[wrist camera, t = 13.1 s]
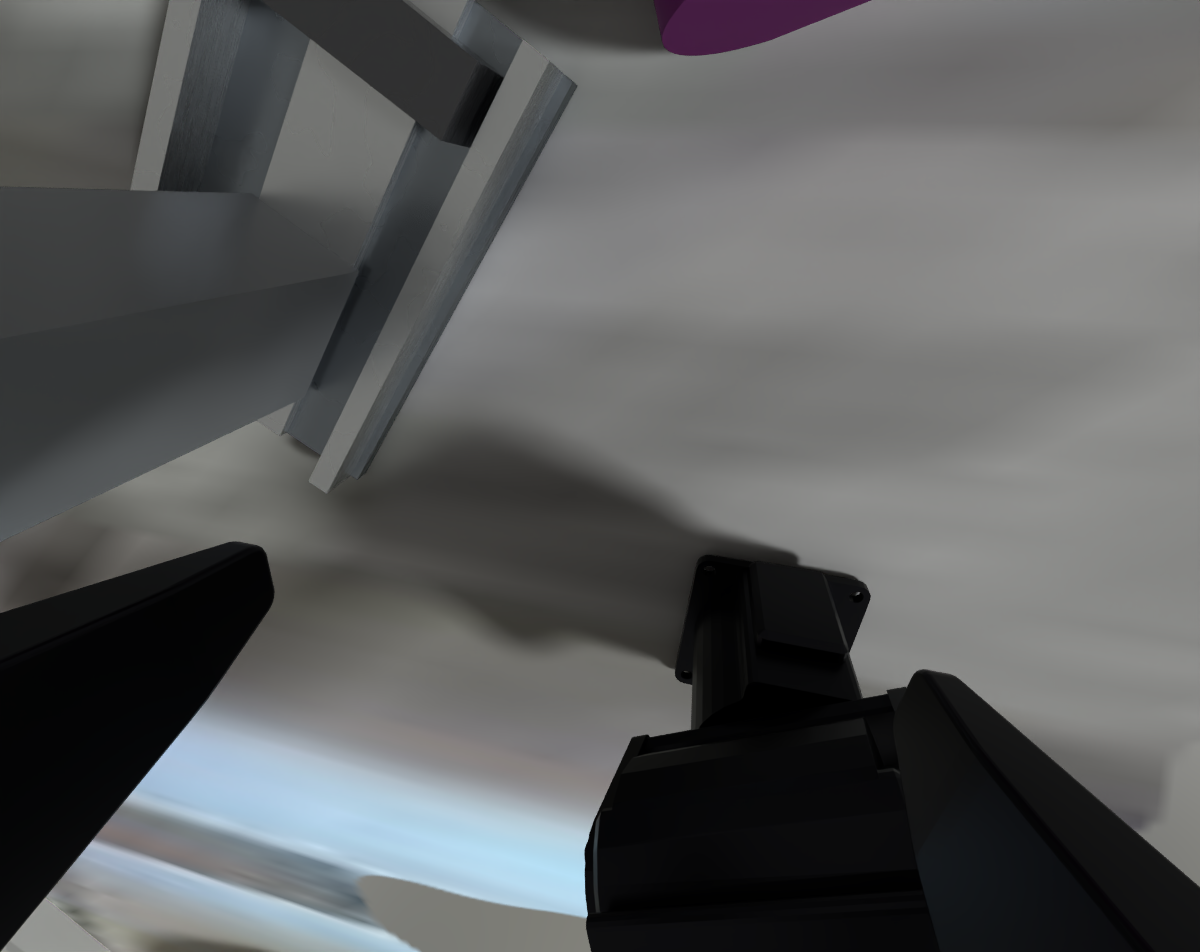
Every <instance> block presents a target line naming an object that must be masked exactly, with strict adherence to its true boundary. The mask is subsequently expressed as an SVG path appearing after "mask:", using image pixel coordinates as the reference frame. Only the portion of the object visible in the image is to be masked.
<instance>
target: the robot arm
mask: <svg viewBox="0 0 1200 952" xmlns="http://www.w3.org/2000/svg"><path fill="white" fill-rule="evenodd" d="M706 566H712V567H714V568H715V569H714V570H712V571H707V570H705V569H704V568H705V567H706ZM853 592H860V594H859V595H857V596H850V594H851V593H853ZM870 597H871V595H870V593H869V590H868V588H867V586H866V584H864V583H863V582H861V581H858V580H853V579H847V578H842V577H836V576H830V575H824V574H822V573H821V572H818V571H812V570H806V569H800V568H795V567H789V566H783V565H777V564H771V563H766V562H760V561H756V562H749V561H743V560H737V559H731V558H726V557H720V556H714V555H705V556H702V557H701V558H700V559H698V561H697V564H696V569H695V573H694V578H693V583H692V588H691V593H690V598H689V603H688V607H687V612H686V617H685V622H684V627H683V632H682V637H681V642H680V646H679V651H678V656H677V661H676V666H675V676H676V678H677V679H678V680H679V681H680V682H683V683H686V684H691V685H692V711H691V730H687V731H682V732H676V733H671V734H665V735H660V736H654V737H649V735H642V736H636V737H632V739H631V741H630V743H629V745H628V747H627V750H626V752H625V754H624V756H623V758H622V760H621V763H620V765H619V767H618V769H617V771H616V774H615V776H614V778H613V780H612V782H611V784H610V787H609V789H608V791H607V793H606V795H605V798H604V800H603V802H602V804H601V806H600V808H599V811H598V813H597V815H596V817H595V819H594V822H593V825H592V828H591V831H590V834H589V839H588V842H587V844H586V847H585V895H586V903H587V911H588V916H587V921H586V930H587V935H588V939H589V944H590V948H591V952H1200V887H1199V886H1198V885H1197V884H1196V883H1194V882H1193V881H1192V880H1191V879H1190V878H1189V877H1188V876H1186V875H1185V874H1184V873H1183V872H1182V871H1181V870H1179V869H1178V868H1177V867H1176V866H1175V865H1174V864H1172V863H1171V862H1170V861H1169V860H1168V859H1167V858H1166V857H1164V856H1163V855H1162V854H1161V853H1160V852H1159V851H1158V850H1156V849H1155V848H1154V847H1153V846H1152V845H1151V844H1149V843H1148V842H1147V841H1146V840H1145V839H1143V837H1141V836H1140V835H1139V834H1138V833H1137V832H1136V831H1134V830H1133V829H1132V828H1131V827H1130V826H1129V825H1127V824H1126V823H1125V822H1124V821H1123V820H1122V819H1121V818H1119V817H1118V816H1117V815H1116V814H1115V813H1114V812H1112V811H1111V810H1110V809H1109V808H1108V807H1107V806H1106V805H1104V804H1103V803H1102V802H1101V801H1100V800H1099V799H1097V798H1096V797H1095V796H1094V795H1093V794H1092V793H1091V792H1089V791H1088V790H1087V789H1086V788H1085V787H1084V786H1082V785H1081V784H1080V783H1079V782H1078V781H1077V780H1076V779H1074V778H1073V777H1072V776H1071V775H1070V774H1069V773H1067V772H1066V771H1065V770H1064V769H1063V768H1062V767H1060V766H1059V765H1058V764H1057V763H1056V762H1055V761H1054V760H1052V759H1051V758H1050V757H1049V756H1048V755H1047V754H1045V753H1044V752H1043V751H1042V750H1041V749H1040V748H1039V747H1037V746H1036V745H1035V744H1034V743H1033V742H1032V741H1030V740H1029V739H1028V738H1027V737H1026V736H1025V735H1024V734H1022V733H1021V732H1020V731H1019V730H1018V729H1017V728H1015V727H1014V726H1013V725H1012V724H1011V723H1010V722H1008V721H1007V720H1006V719H1005V718H1004V717H1003V716H1002V715H1000V714H999V713H998V712H997V711H996V710H995V709H993V708H992V707H991V706H990V705H989V704H988V703H987V702H985V701H984V700H983V699H982V698H981V697H980V696H978V695H977V694H976V693H975V692H974V691H973V690H972V689H970V688H969V687H968V686H967V685H966V684H965V683H963V682H962V681H961V680H960V679H959V678H957V677H956V676H954V675H951V674H947V673H942V672H936V671H931V670H925V669H922V670H918V671H917V672H916V673H914V675H913V676H912V678H911V680H910V682H909V684H908V687H907V688H906V687H901V688H896V689H891V690H887V693H888V694H884V695H879V696H873V697H868V698H863V697H862V693H861V690H860V687H859V684H858V681H857V677H856V674H855V671H854V668H853V665H852V662H851V658H850V655H849V652H850V650H851V647H852V645H853V642H854V640H855V637H856V635H857V632H858V629H859V627H860V624H861V622H862V619H863V617H864V614H865V612H866V609H867V606H868V604H869V601H870ZM273 599H274V586H273V581H272V577H271V572H270V568H269V563H268V559H267V555H266V552H265V551H264V550H263V548H262V547H260V546H258V545H253V544H248V543H242V542H228V543H225V544H221V545H218V546H215V547H212V548H209V549H205V550H202V551H199V552H196V553H192V554H189V555H186V556H183V557H180V558H176V559H173V560H170V561H167V562H163V563H160V564H157V565H154V566H151V567H147V568H144V569H141V570H138V571H135V572H131V573H128V574H125V575H122V576H118V577H115V578H112V579H109V580H106V581H102V582H99V583H96V584H93V585H89V586H86V587H83V588H80V589H77V590H73V591H70V592H67V593H64V594H61V595H57V596H54V597H51V598H48V599H44V600H41V601H38V602H35V603H32V604H28V605H25V606H22V607H19V608H15V609H12V610H9V611H6V612H3V613H0V952H1V951H2V950H3V948H4V947H5V946H6V945H7V943H8V942H9V941H10V940H11V939H12V937H13V936H14V935H15V934H16V933H17V931H18V930H19V929H20V928H21V926H22V925H23V924H24V923H25V922H26V920H27V919H28V918H29V917H30V915H31V914H32V913H33V912H34V911H35V909H36V908H37V907H38V906H39V905H40V903H41V902H42V901H43V900H44V898H45V897H46V896H47V895H48V894H49V892H50V891H51V890H52V889H53V887H54V886H55V885H56V884H57V883H58V881H59V880H60V879H61V878H62V877H63V875H64V874H65V873H66V872H67V870H68V869H69V868H70V867H71V866H72V864H73V863H74V862H75V861H76V860H77V858H78V857H79V856H80V855H81V853H82V852H83V851H84V850H85V849H86V847H87V846H88V845H89V844H90V842H91V841H92V840H93V839H94V838H95V836H96V835H97V834H98V833H99V832H100V830H101V829H102V828H103V827H104V825H105V824H106V823H107V822H108V821H109V819H110V818H111V817H112V816H113V814H114V813H115V812H116V811H117V810H118V808H119V807H120V806H121V805H122V804H123V802H124V801H125V800H126V799H127V797H128V796H129V795H130V794H131V793H132V791H133V790H134V789H135V788H136V787H137V785H138V784H139V783H140V782H141V780H142V779H143V778H144V777H145V776H146V774H147V773H148V772H149V771H150V769H151V768H152V767H153V766H154V765H155V763H156V762H157V761H158V760H159V759H160V757H161V756H162V755H163V754H164V752H165V751H166V750H167V749H168V748H169V746H170V745H171V744H172V743H173V742H174V740H175V739H176V738H177V737H178V735H179V734H180V733H181V732H182V731H183V729H184V728H185V727H186V726H187V724H188V723H189V722H190V721H191V720H192V718H193V717H194V716H195V715H196V713H197V712H198V711H199V710H200V708H201V707H202V706H203V704H204V703H205V702H206V701H207V699H208V698H209V696H210V695H211V694H212V692H213V691H214V689H215V688H216V687H217V685H218V684H219V682H220V681H221V680H222V678H223V677H224V675H225V674H226V672H227V671H228V669H229V668H230V666H231V665H232V663H233V662H234V660H235V659H236V658H237V656H238V655H239V653H240V652H241V650H242V649H243V647H244V646H245V644H246V643H247V641H248V640H249V638H250V637H251V636H252V634H253V633H254V631H255V630H256V628H257V627H258V625H259V624H260V622H261V621H262V619H263V618H264V617H265V615H266V614H267V612H268V611H269V609H270V607H271V605H272V603H273ZM684 671H690V672H684Z"/></svg>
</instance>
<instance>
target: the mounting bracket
mask: <svg viewBox="0 0 1200 952" xmlns="http://www.w3.org/2000/svg"><path fill="white" fill-rule="evenodd" d="M868 1H871V0H654V5H655V9H656V14H657V19H658V24H659V29H660V33H661V38H662V43H663V45H664V47H665V48H666V49H667V50H668V51H670V52H672V53H674V54H679V55H687V56H697V55H709V54H716V53H722V52H727V51H731V50H736V49H740V48H744V47H748V46H752V45H755V44H759V43H762V42H766V41H769V40H772V39H775V38H777V37H780V36H782V35H785V34H787V33H790V32H792V31H795V30H797V29H800V28H802V27H805V26H807V25H810V24H812V23H815V22H818V21H820V20H823V19H825V18H828V17H830V16H833V15H835V14H838V13H840V12H843V11H845V10H848V9H850V8H853V7H855V6H858V5H861V4H863V3H866V2H868Z"/></svg>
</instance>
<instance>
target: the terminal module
mask: <svg viewBox="0 0 1200 952" xmlns="http://www.w3.org/2000/svg"><path fill="white" fill-rule="evenodd" d="M358 273H359V271H358V270H357V269H355V268H354V267H353V266H351V265H350V264H348V263H347V262H346V261H344V260H343V259H341V258H340V257H339V256H337V255H336V254H335V253H333V252H332V251H330V250H329V249H328V248H326V247H325V246H324V245H322V244H321V243H319V242H318V241H317V240H315V239H314V238H313V237H311V236H310V235H308V234H307V233H306V232H304V231H303V230H302V229H300V228H299V227H297V226H296V225H295V224H293V223H292V222H290V221H289V220H288V219H286V218H285V217H284V216H282V215H281V214H279V213H278V212H277V211H275V210H274V209H273V208H271V207H270V206H268V205H267V204H266V203H264V202H263V201H262V200H260V199H259V198H257V197H256V196H255V195H253V194H252V193H217V192H180V191H144V190H107V189H70V188H34V187H0V542H1V541H3V540H5V539H7V538H9V537H12V536H14V535H16V534H18V533H20V532H22V531H24V530H26V529H28V528H31V527H33V526H35V525H37V524H39V523H41V522H43V521H45V520H47V519H50V518H52V517H54V516H56V515H58V514H60V513H62V512H64V511H66V510H68V509H71V508H73V507H75V506H77V505H79V504H81V503H83V502H85V501H87V500H90V499H92V498H94V497H96V496H98V495H100V494H102V493H104V492H106V491H108V490H111V489H113V488H115V487H117V486H119V485H121V484H123V483H125V482H127V481H130V480H132V479H134V478H136V477H138V476H140V475H142V474H144V473H146V472H148V471H151V470H153V469H155V468H157V467H159V466H161V465H163V464H165V463H167V462H170V461H172V460H174V459H176V458H178V457H180V456H182V455H184V454H186V453H189V452H191V451H193V450H195V449H197V448H199V447H201V446H203V445H205V444H207V443H210V442H212V441H214V440H216V439H218V438H220V437H222V436H224V435H226V434H229V433H231V432H233V431H235V430H237V429H239V428H241V427H243V426H245V425H247V424H250V423H252V422H254V421H256V420H258V419H260V418H262V417H264V416H266V415H269V414H271V413H273V412H275V411H277V410H279V409H281V408H283V407H285V406H287V405H290V404H292V403H294V402H296V401H298V400H300V399H302V398H304V397H305V395H306V393H307V390H308V388H309V386H310V384H311V381H312V379H313V377H314V374H315V372H316V370H317V367H318V365H319V363H320V360H321V358H322V356H323V354H324V351H325V349H326V347H327V344H328V342H329V340H330V337H331V335H332V333H333V330H334V328H335V326H336V324H337V321H338V319H339V317H340V314H341V312H342V310H343V307H344V305H345V303H346V300H347V298H348V296H349V294H350V291H351V289H352V287H353V284H354V282H355V280H356V277H357V275H358Z"/></svg>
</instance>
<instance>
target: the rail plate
mask: <svg viewBox="0 0 1200 952" xmlns="http://www.w3.org/2000/svg"><path fill="white" fill-rule="evenodd" d="M576 88H577V85H576V84H575V83H574V82H573V81H572V80H571V79H569V78H568V77H567V76H566V75H564V74H563V73H562V72H561V71H560V70H559V69H558V68H557V67H556V66H555V65H554V64H552V63H551V62H550V61H549V60H548V59H547V58H546V57H544V56H543V55H542V54H541V53H539V52H538V51H537V50H536V49H535V48H533V47H532V46H531V45H530V44H529V43H527V42H526V41H525V40H524V39H523V40H522V39H521V38H520V37H519V36H517V35H516V34H515V33H514V32H512V31H511V30H510V29H509V28H508V27H506V26H505V25H504V24H503V23H502V22H500V21H499V20H498V19H497V18H496V17H494V16H493V15H492V14H491V13H489V12H488V11H487V10H486V9H485V8H483V7H482V6H481V5H480V4H479V3H477V2H476V1H475V0H169V4H168V9H167V14H166V19H165V24H164V29H163V34H162V38H161V43H160V48H159V53H158V58H157V63H156V67H155V72H154V77H153V82H152V87H151V92H150V96H149V101H148V106H147V111H146V116H145V121H144V125H143V130H142V135H141V140H140V145H139V150H138V155H137V159H136V164H135V169H134V174H133V179H132V184H131V188H130V190H144V191H180V192H217V193H252V194H253V195H255V196H256V197H257V198H259V199H260V200H262V201H263V202H264V203H266V204H267V205H268V206H270V207H271V208H273V209H274V210H275V211H277V212H278V213H279V214H281V215H282V216H284V217H285V218H286V219H288V220H289V221H290V222H292V223H293V224H295V225H296V226H297V227H299V228H300V229H302V230H303V231H304V232H306V233H307V234H308V235H310V236H311V237H313V238H314V239H315V240H317V241H318V242H319V243H321V244H322V245H324V246H325V247H326V248H328V249H329V250H330V251H332V252H333V253H335V254H336V255H337V256H339V257H340V258H341V259H343V260H344V261H346V262H347V263H348V264H350V265H351V266H353V267H354V268H355V269H357V270H358V271H359V273H358V275H357V277H356V280H355V282H354V284H353V287H352V289H351V291H350V294H349V296H348V298H347V300H346V303H345V305H344V307H343V310H342V312H341V314H340V317H339V319H338V321H337V324H336V326H335V328H334V330H333V333H332V335H331V337H330V340H329V342H328V344H327V347H326V349H325V351H324V354H323V356H322V358H321V360H320V363H319V365H318V367H317V370H316V372H315V374H314V377H313V379H312V381H311V384H310V386H309V388H308V390H307V393H306V395H305V397H304V398H302V399H300V400H298V401H296V402H294V403H292V404H290V405H287V406H285V407H283V408H281V409H279V410H277V411H275V412H273V413H271V414H269V415H266V416H264V417H262V418H260V419H258V420H256V421H258V422H259V423H261V424H262V425H264V426H265V427H267V428H268V429H270V430H271V431H273V432H274V433H276V434H277V435H279V436H281V435H283V434H285V433H288V434H290V435H291V436H293V437H294V438H296V439H297V440H299V441H300V442H302V443H303V444H305V445H306V446H307V447H309V448H310V449H312V450H313V451H315V452H316V453H318V454H319V455H321V456H320V458H319V460H318V463H317V465H316V467H315V469H314V471H313V473H312V475H311V477H310V479H309V481H308V482H310V483H311V484H313V485H314V486H316V487H317V488H319V489H320V490H322V491H323V492H325V493H326V494H327V493H328V492H330V491H331V490H332V489H334V488H335V487H336V486H338V485H339V484H340V483H342V482H343V481H344V480H346V479H347V478H348V477H350V476H352V477H353V478H355V479H356V480H358V479H359V478H360V477H361V476H363V475H364V474H365V473H366V471H367V469H368V468H369V466H370V464H371V462H372V460H373V458H374V457H375V455H376V453H377V451H378V449H379V447H380V446H381V444H382V442H383V440H384V438H385V437H386V435H387V433H388V431H389V429H390V427H391V426H392V424H393V422H394V420H395V418H396V416H397V415H398V413H399V411H400V409H401V407H402V405H403V404H404V402H405V400H406V398H407V396H408V395H409V393H410V391H411V389H412V387H413V385H414V384H415V382H416V380H417V378H418V376H419V374H420V373H421V371H422V369H423V367H424V365H425V363H426V362H427V360H428V358H429V356H430V354H431V352H432V351H433V349H434V347H435V345H436V343H437V342H438V340H439V338H440V336H441V334H442V332H443V331H444V329H445V327H446V325H447V323H448V321H449V320H450V318H451V316H452V314H453V312H454V310H455V309H456V307H457V305H458V303H459V301H460V300H461V298H462V296H463V294H464V292H465V290H466V289H467V287H468V285H469V283H470V281H471V279H472V278H473V276H474V274H475V272H476V270H477V268H478V267H479V265H480V263H481V261H482V259H483V258H484V256H485V254H486V252H487V250H488V248H489V247H490V245H491V243H492V241H493V239H494V237H495V236H496V234H497V232H498V230H499V228H500V226H501V225H502V223H503V221H504V219H505V217H506V215H507V214H508V212H509V210H510V208H511V206H512V205H513V203H514V201H515V199H516V197H517V195H518V194H519V192H520V190H521V188H522V186H523V184H524V183H525V181H526V179H527V177H528V175H529V173H530V172H531V170H532V168H533V166H534V164H535V163H536V161H537V159H538V157H539V155H540V153H541V152H542V150H543V148H544V146H545V144H546V142H547V141H548V139H549V137H550V135H551V133H552V131H553V130H554V128H555V126H556V124H557V122H558V121H559V119H560V117H561V115H562V113H563V111H564V110H565V108H566V106H567V104H568V102H569V100H570V99H571V97H572V95H573V93H574V91H575V89H576Z"/></svg>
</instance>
